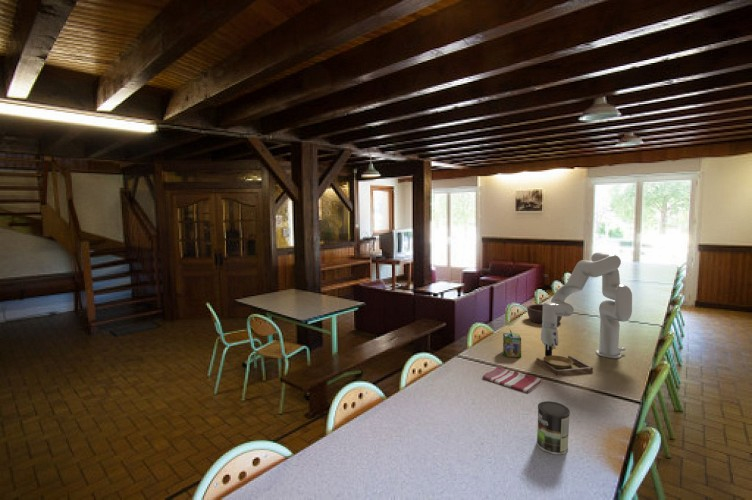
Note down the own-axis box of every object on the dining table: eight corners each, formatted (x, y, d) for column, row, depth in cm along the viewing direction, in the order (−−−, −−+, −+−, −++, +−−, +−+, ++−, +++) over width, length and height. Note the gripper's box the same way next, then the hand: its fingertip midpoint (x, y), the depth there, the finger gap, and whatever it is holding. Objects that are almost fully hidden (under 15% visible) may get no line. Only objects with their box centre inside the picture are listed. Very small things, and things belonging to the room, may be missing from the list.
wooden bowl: (569, 325, 280) (569, 311, 279) (534, 326, 280) (534, 312, 279) (553, 316, 305) (554, 303, 304) (521, 316, 305) (522, 304, 304)
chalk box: (521, 357, 220) (521, 332, 218) (504, 356, 222) (505, 331, 220) (518, 352, 229) (519, 327, 227) (502, 351, 231) (503, 327, 229)
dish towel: (498, 369, 205) (498, 365, 205) (542, 383, 188) (542, 378, 188) (481, 379, 193) (482, 374, 193) (527, 395, 177) (528, 389, 176)
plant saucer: (539, 359, 218) (539, 355, 217) (566, 359, 217) (566, 355, 216) (549, 370, 203) (549, 365, 203) (578, 370, 202) (578, 365, 202)
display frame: (569, 359, 216) (569, 355, 216) (592, 372, 199) (592, 367, 199) (536, 362, 213) (536, 358, 212) (556, 375, 195) (556, 371, 195)
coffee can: (546, 455, 132) (547, 416, 130) (531, 438, 142) (532, 401, 141) (574, 453, 133) (576, 414, 131) (558, 436, 143) (559, 400, 142)
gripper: (564, 327, 210) (562, 360, 212) (547, 320, 225) (546, 351, 226) (551, 328, 209) (550, 361, 210) (535, 321, 223) (534, 351, 225)
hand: (548, 356), depth 218 cm, fingers closed
